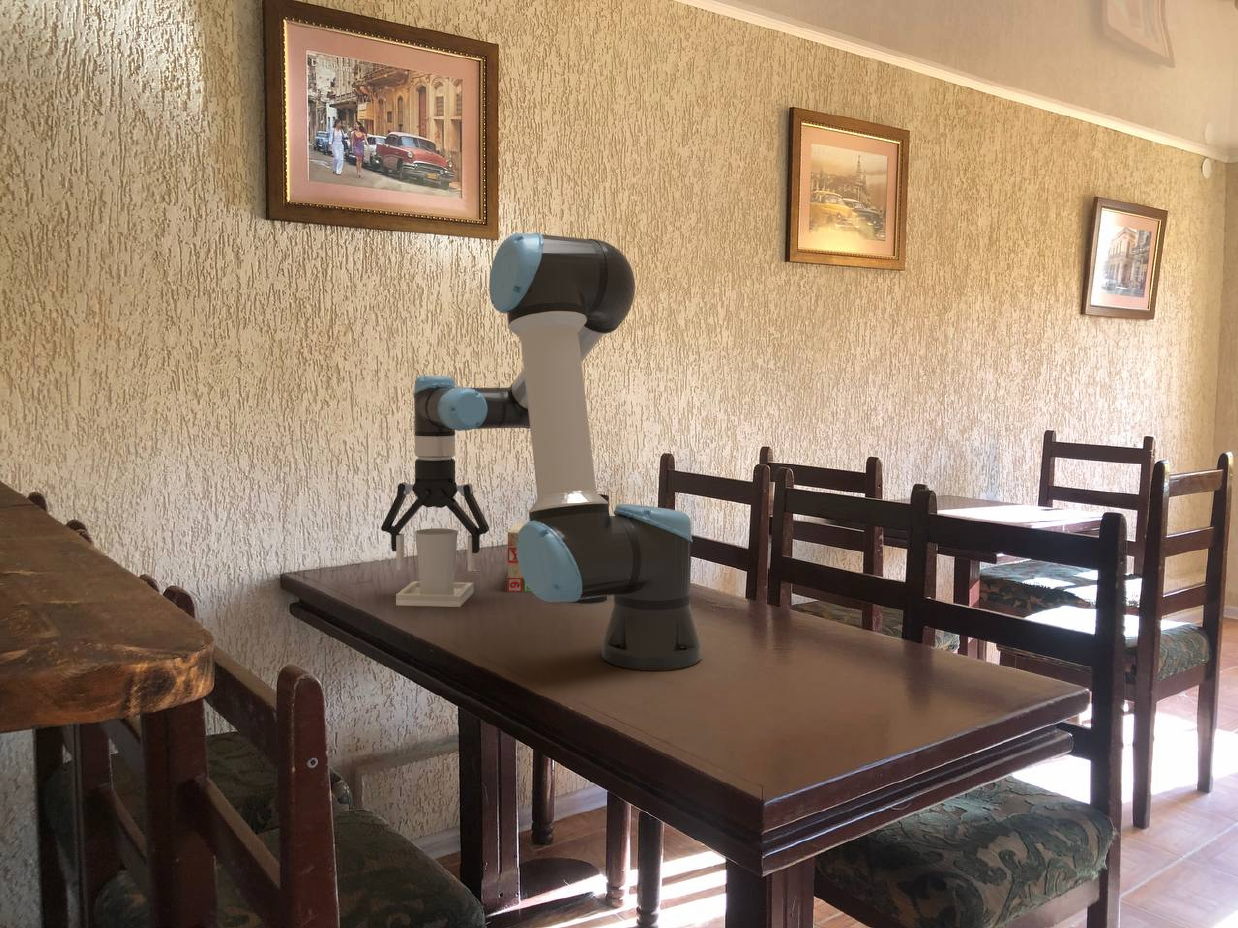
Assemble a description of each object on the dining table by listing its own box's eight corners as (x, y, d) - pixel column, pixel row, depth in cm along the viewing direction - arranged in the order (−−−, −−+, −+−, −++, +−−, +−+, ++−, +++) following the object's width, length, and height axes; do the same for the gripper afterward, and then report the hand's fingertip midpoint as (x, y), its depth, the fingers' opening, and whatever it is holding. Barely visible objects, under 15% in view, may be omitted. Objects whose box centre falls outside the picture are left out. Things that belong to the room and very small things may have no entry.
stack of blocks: (517, 571, 216) (517, 515, 215) (545, 571, 216) (546, 516, 215) (507, 592, 195) (507, 531, 194) (538, 593, 195) (539, 531, 194)
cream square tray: (460, 606, 182) (460, 596, 182) (395, 605, 182) (395, 594, 182) (473, 592, 194) (473, 582, 193) (413, 591, 194) (413, 581, 194)
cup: (448, 599, 183) (448, 535, 182) (408, 597, 185) (408, 533, 184) (464, 590, 191) (463, 529, 190) (425, 588, 193) (424, 527, 192)
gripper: (504, 457, 189) (504, 566, 191) (375, 455, 190) (377, 563, 192) (497, 460, 181) (497, 574, 183) (363, 458, 183) (365, 571, 184)
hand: (435, 569), depth 188 cm, fingers open, 13 cm apart
